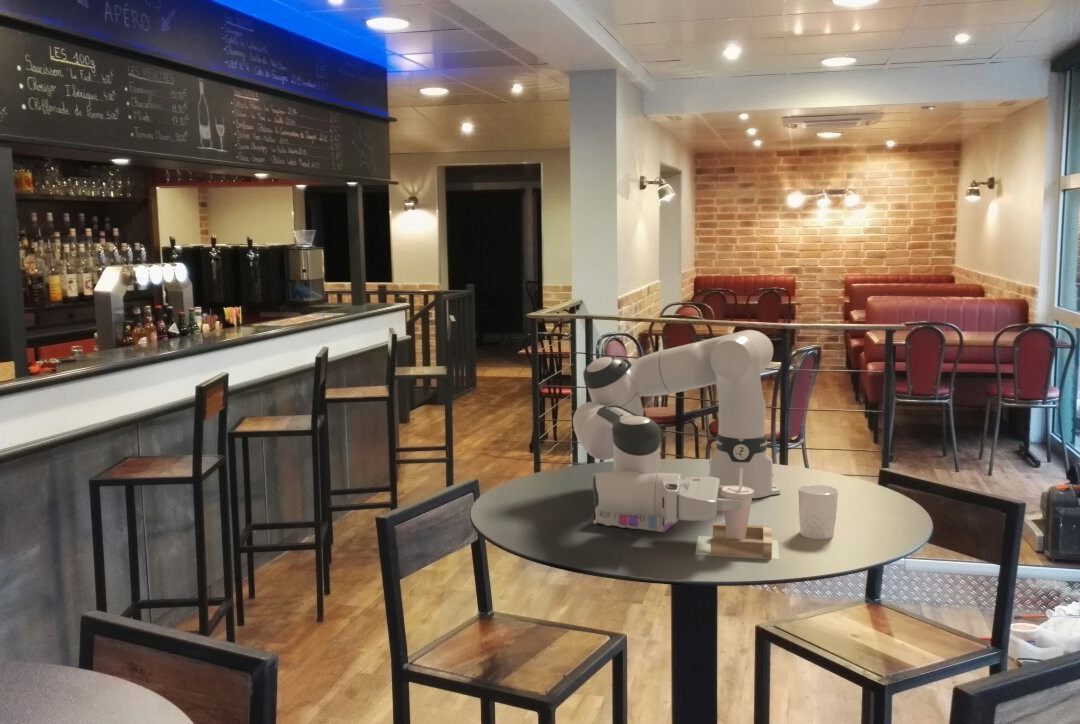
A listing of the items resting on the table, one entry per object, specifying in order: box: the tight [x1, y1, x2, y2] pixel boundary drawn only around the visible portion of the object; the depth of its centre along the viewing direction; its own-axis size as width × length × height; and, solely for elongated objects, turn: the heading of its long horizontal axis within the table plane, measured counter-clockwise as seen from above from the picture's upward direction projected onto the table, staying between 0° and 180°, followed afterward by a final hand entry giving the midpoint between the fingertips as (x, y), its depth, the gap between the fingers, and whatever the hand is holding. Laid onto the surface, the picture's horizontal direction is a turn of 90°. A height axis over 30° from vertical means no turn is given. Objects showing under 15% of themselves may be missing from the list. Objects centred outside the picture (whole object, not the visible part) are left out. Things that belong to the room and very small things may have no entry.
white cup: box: [798, 484, 839, 540], centre depth 207 cm, size 8×8×10 cm
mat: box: [694, 535, 780, 560], centre depth 199 cm, size 12×16×1 cm
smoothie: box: [721, 468, 754, 539], centre depth 198 cm, size 6×6×14 cm
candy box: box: [592, 504, 681, 533], centre depth 219 cm, size 14×6×16 cm
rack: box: [710, 522, 773, 559], centre depth 199 cm, size 12×12×3 cm
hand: (742, 498), depth 197 cm, fingers closed on smoothie, 6 cm apart
